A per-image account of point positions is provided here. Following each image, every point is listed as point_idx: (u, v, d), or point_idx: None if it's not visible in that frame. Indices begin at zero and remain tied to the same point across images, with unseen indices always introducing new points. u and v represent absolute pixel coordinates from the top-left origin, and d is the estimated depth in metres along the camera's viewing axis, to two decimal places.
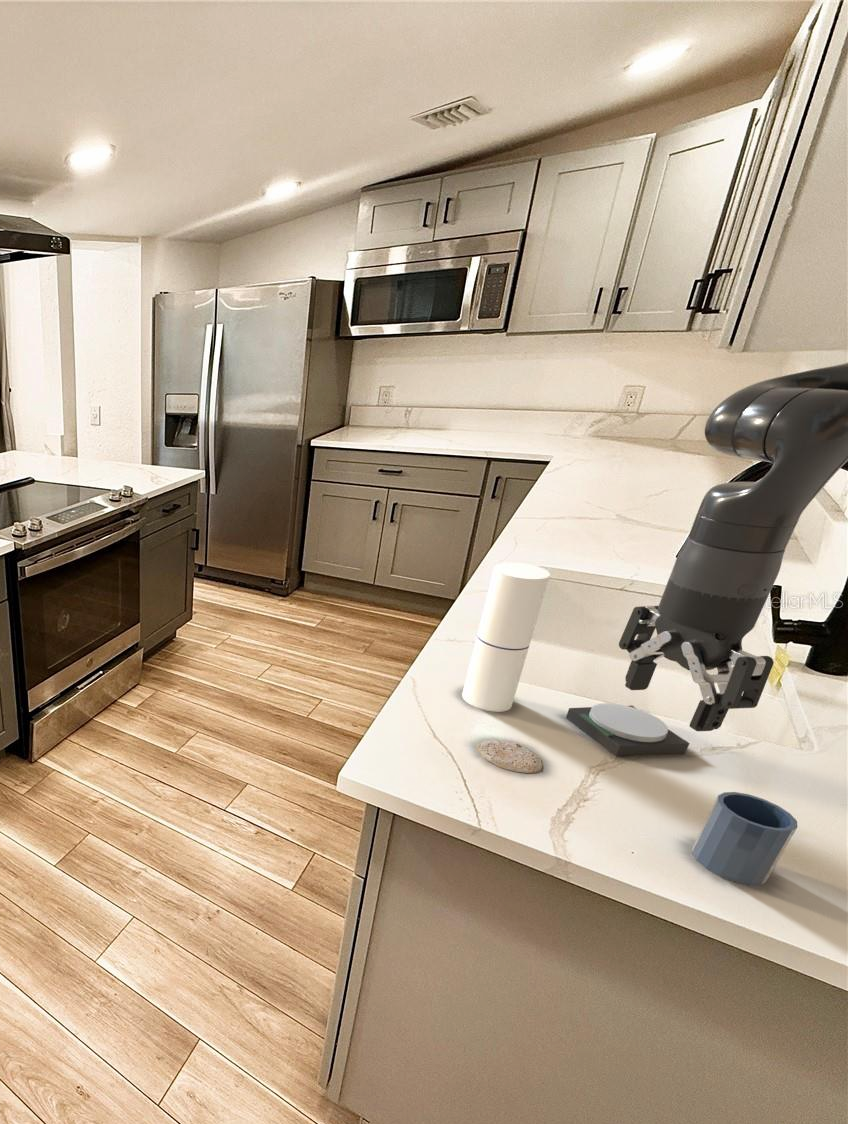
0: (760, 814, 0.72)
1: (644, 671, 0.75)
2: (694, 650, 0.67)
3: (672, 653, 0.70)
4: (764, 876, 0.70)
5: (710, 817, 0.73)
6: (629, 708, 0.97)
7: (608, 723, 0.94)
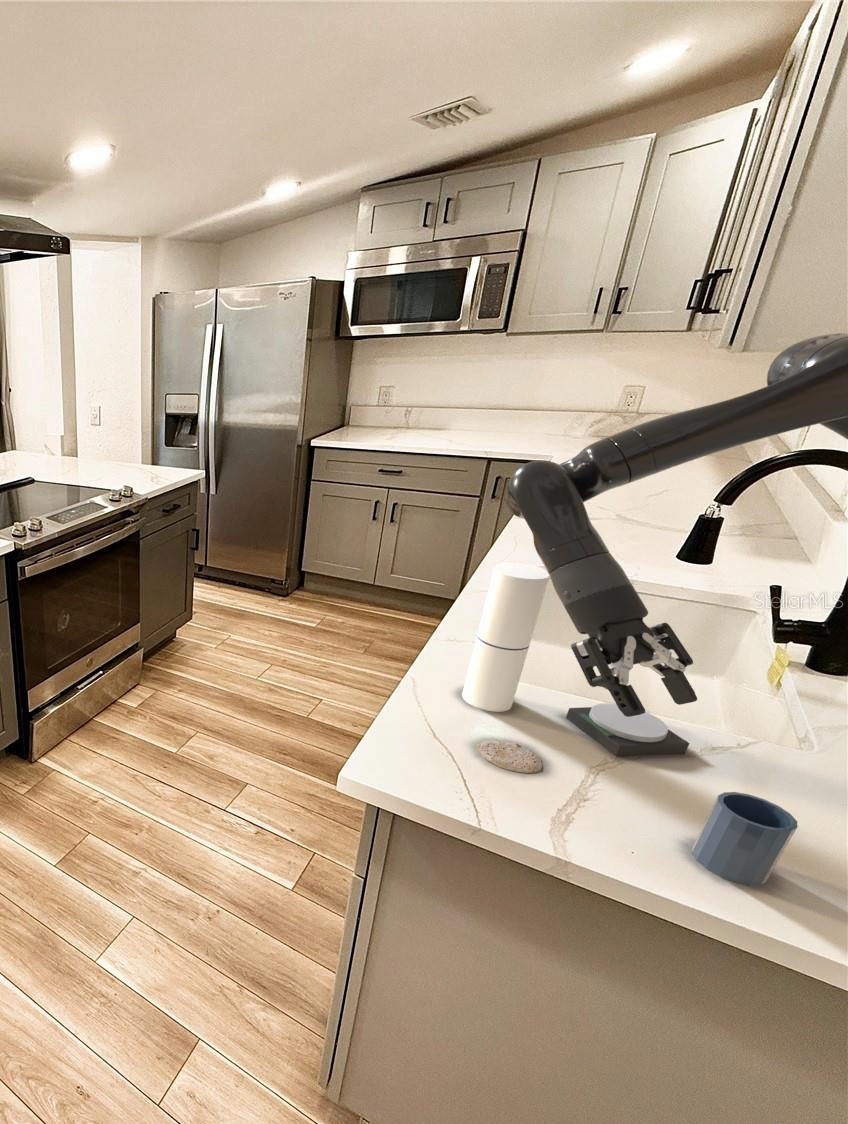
0: (760, 814, 0.72)
1: (673, 683, 0.79)
2: None
3: None
4: (764, 876, 0.70)
5: (710, 817, 0.73)
6: None
7: (608, 723, 0.94)
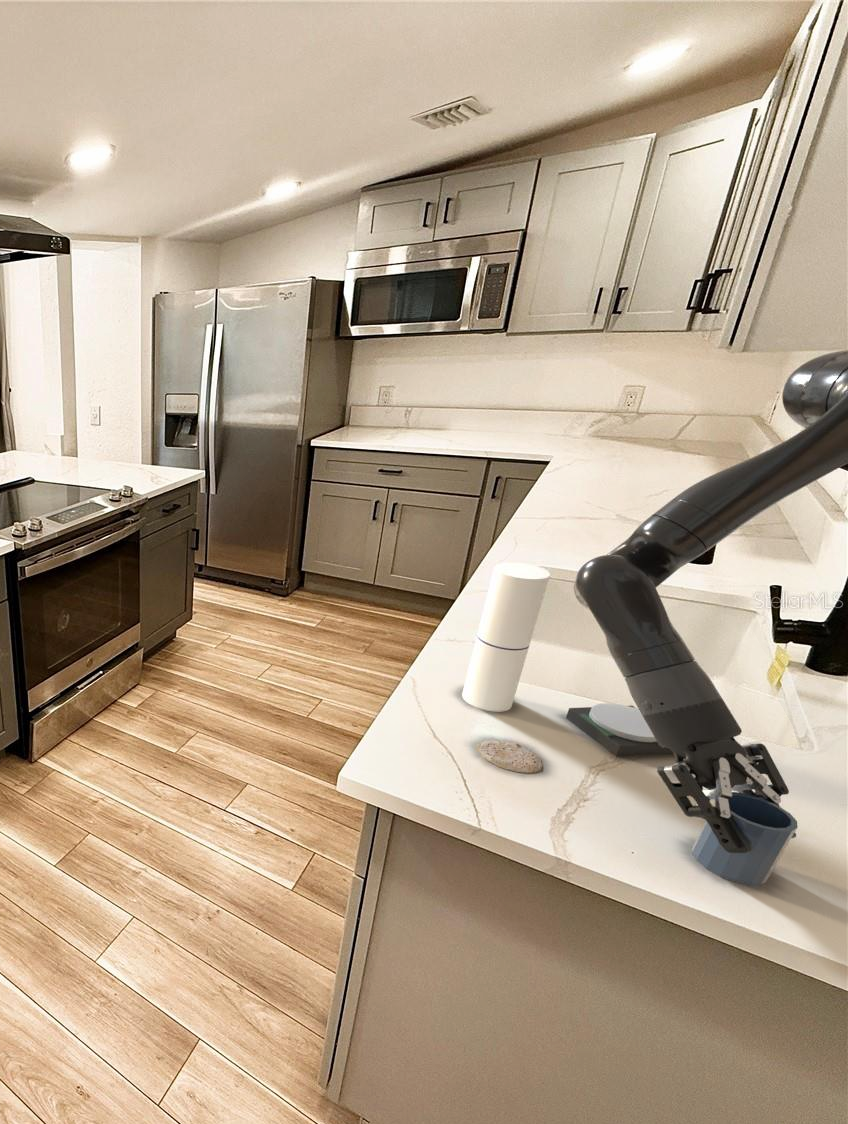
0: (760, 814, 0.72)
1: None
2: None
3: None
4: (764, 876, 0.70)
5: None
6: (629, 708, 0.97)
7: (608, 723, 0.94)
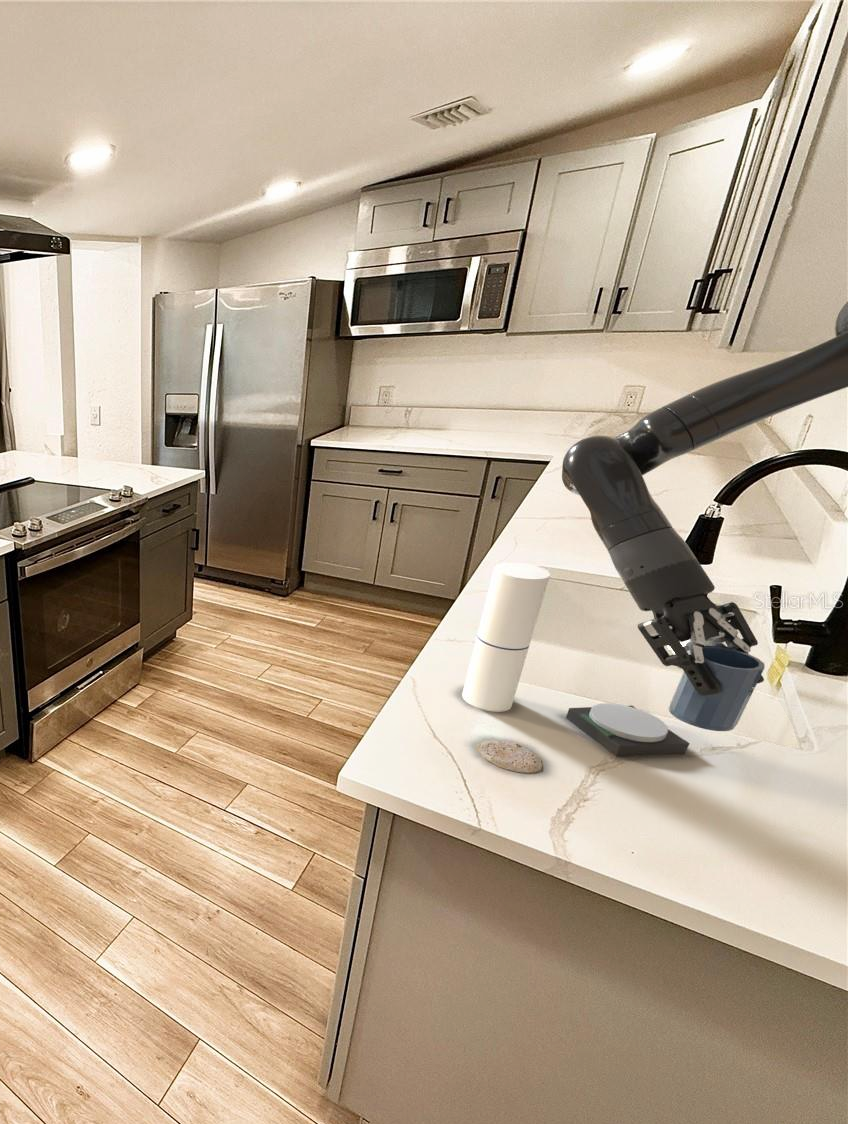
0: (732, 664, 0.78)
1: None
2: None
3: None
4: (735, 717, 0.76)
5: None
6: (629, 708, 0.97)
7: (608, 723, 0.94)
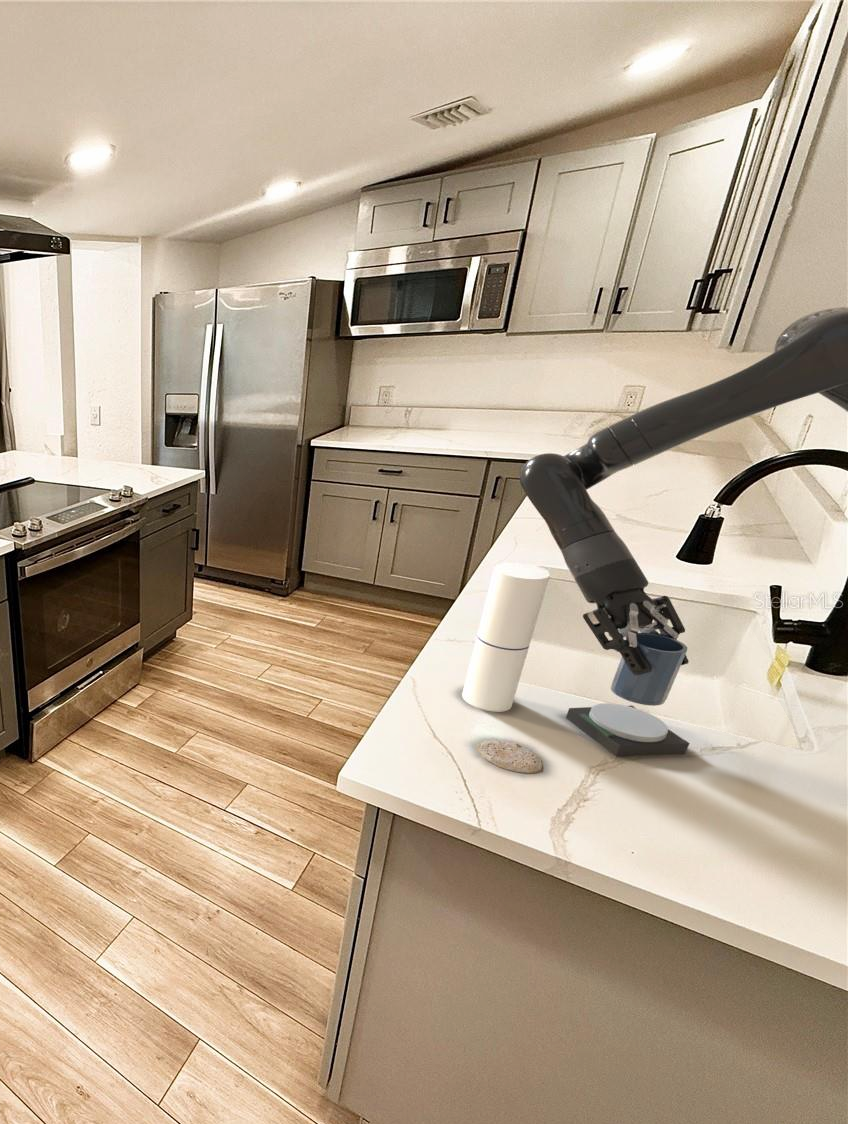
0: (662, 648, 0.91)
1: None
2: None
3: None
4: (663, 693, 0.89)
5: None
6: (629, 708, 0.97)
7: (608, 723, 0.94)
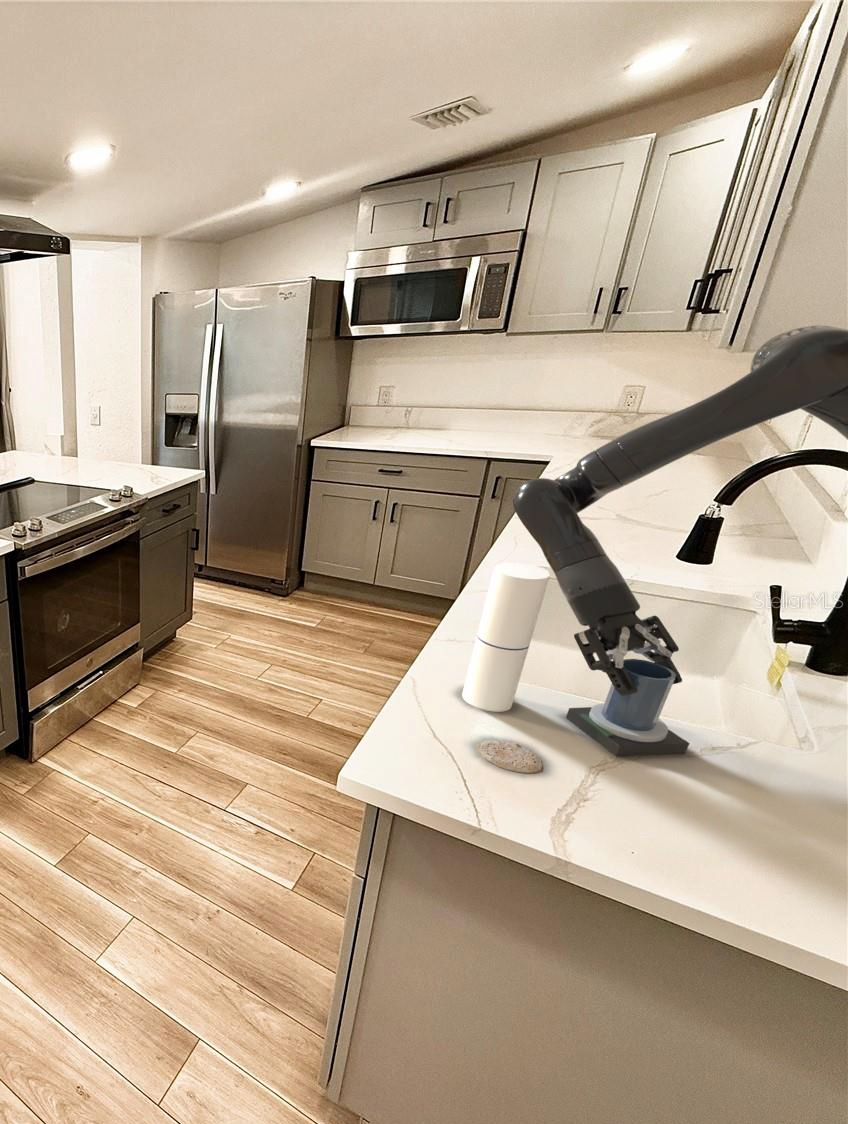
0: (652, 674, 0.93)
1: None
2: None
3: None
4: (653, 719, 0.91)
5: None
6: None
7: (608, 723, 0.94)
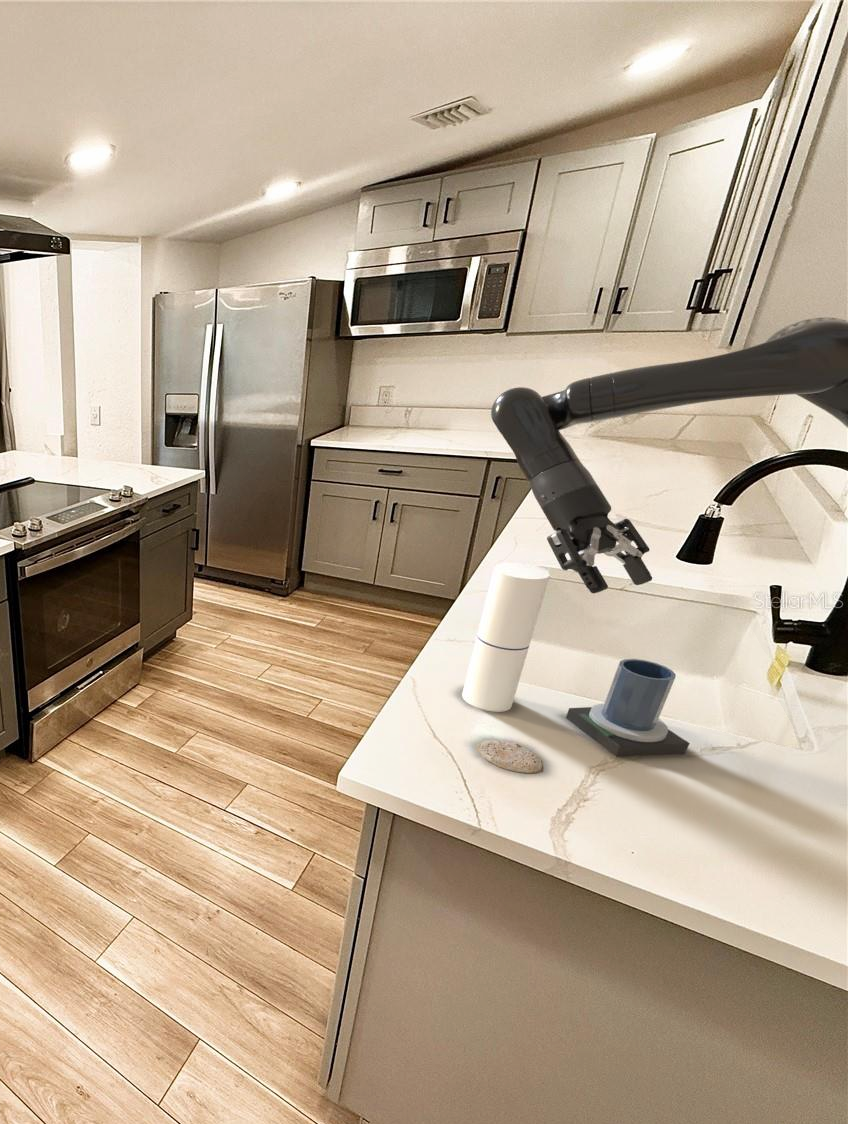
0: (652, 674, 0.93)
1: (632, 567, 0.94)
2: None
3: None
4: (653, 719, 0.91)
5: (614, 678, 0.94)
6: None
7: (608, 723, 0.94)
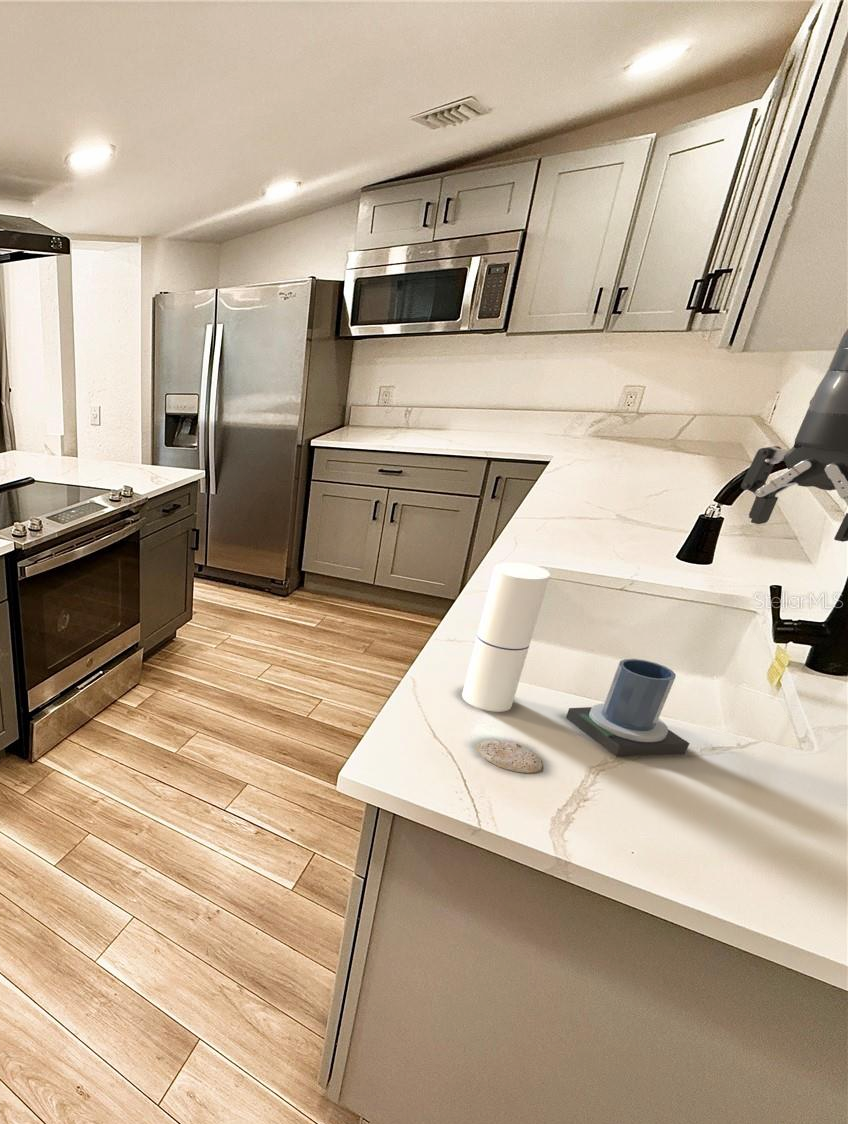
0: (652, 674, 0.93)
1: (769, 505, 0.86)
2: (840, 470, 0.77)
3: (808, 479, 0.81)
4: (653, 719, 0.91)
5: (614, 678, 0.94)
6: None
7: (608, 723, 0.94)
